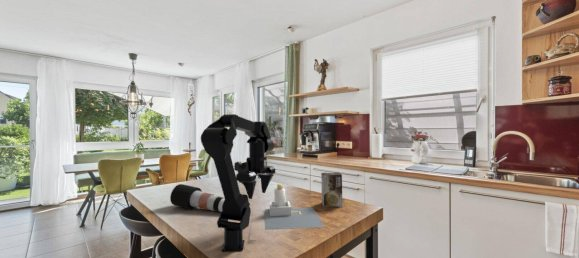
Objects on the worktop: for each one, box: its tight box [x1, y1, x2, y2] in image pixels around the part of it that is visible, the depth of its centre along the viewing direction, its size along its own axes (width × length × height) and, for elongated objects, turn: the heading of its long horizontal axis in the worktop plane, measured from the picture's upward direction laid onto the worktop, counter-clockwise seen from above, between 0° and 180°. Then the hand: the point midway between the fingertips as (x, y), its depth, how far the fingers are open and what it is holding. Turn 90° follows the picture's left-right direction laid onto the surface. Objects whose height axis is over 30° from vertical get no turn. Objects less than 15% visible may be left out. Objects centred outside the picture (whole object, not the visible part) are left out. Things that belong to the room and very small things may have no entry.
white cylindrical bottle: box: [273, 183, 286, 207], centre depth 111 cm, size 5×5×12 cm
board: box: [264, 200, 326, 230], centre depth 105 cm, size 24×22×5 cm
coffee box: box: [320, 172, 343, 209], centre depth 123 cm, size 9×6×16 cm
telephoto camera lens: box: [169, 183, 225, 213], centre depth 118 cm, size 10×34×10 cm, turn 68°
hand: (257, 195), depth 96 cm, fingers open, 9 cm apart
